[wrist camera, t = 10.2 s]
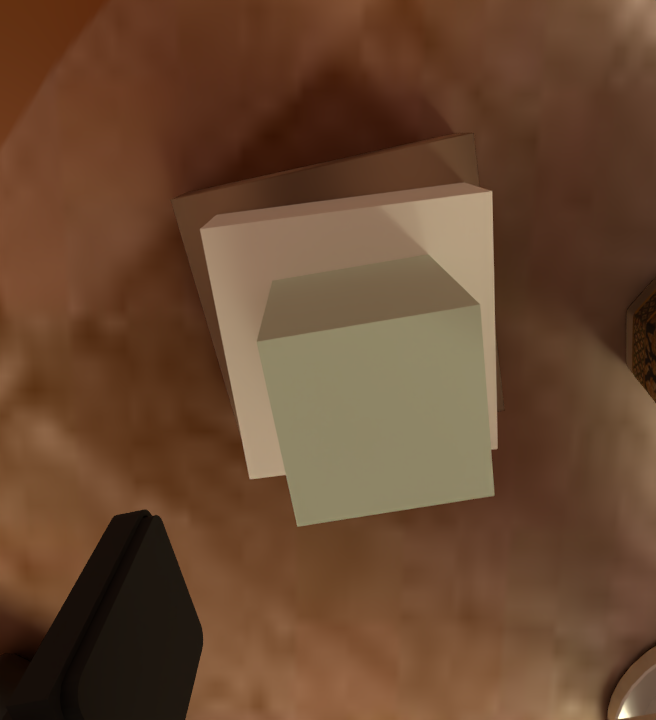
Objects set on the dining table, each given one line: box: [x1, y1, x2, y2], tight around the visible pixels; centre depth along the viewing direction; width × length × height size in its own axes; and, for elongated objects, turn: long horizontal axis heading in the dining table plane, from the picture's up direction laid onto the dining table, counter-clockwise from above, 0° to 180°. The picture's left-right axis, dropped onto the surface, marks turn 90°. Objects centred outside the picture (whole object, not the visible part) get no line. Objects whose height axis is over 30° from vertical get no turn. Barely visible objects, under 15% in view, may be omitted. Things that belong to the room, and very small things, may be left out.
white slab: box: [200, 182, 498, 479], centre depth 21 cm, size 9×9×4 cm
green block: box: [257, 254, 495, 527], centre depth 17 cm, size 5×5×6 cm
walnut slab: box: [171, 133, 505, 440], centre depth 24 cm, size 11×11×4 cm
